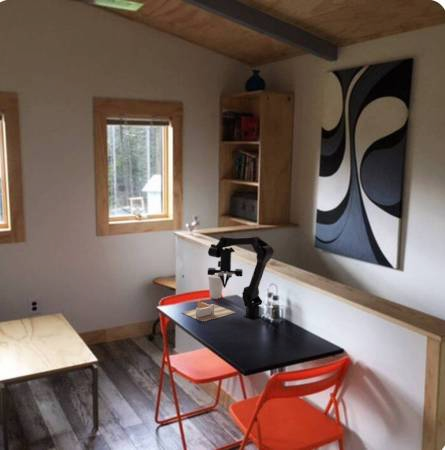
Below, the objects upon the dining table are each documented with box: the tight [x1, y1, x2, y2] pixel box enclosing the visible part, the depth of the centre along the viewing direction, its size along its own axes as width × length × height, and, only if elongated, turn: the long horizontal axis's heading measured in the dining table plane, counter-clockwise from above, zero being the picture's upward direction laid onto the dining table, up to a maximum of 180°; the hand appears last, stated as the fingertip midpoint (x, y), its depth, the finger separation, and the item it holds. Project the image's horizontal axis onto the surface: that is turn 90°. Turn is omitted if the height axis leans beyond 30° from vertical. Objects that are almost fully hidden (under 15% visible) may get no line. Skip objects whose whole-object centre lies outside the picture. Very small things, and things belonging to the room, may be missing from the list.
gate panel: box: [197, 299, 211, 309], centre depth 280 cm, size 2×9×5 cm, turn 45°
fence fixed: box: [195, 303, 215, 318], centre depth 272 cm, size 2×12×6 cm, turn 132°
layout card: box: [181, 304, 237, 323], centre depth 278 cm, size 17×24×1 cm
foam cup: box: [207, 273, 224, 300], centre depth 307 cm, size 10×9×13 cm
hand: (224, 287), depth 285 cm, fingers closed
